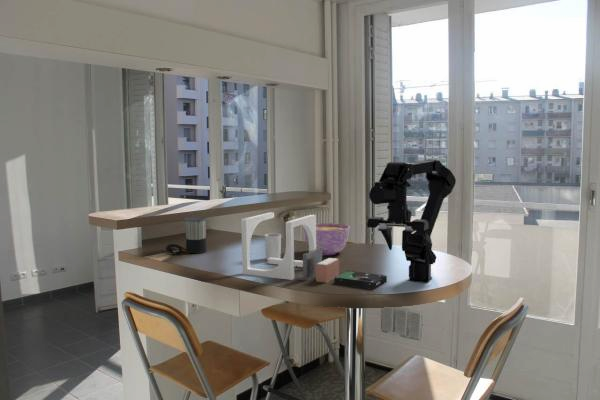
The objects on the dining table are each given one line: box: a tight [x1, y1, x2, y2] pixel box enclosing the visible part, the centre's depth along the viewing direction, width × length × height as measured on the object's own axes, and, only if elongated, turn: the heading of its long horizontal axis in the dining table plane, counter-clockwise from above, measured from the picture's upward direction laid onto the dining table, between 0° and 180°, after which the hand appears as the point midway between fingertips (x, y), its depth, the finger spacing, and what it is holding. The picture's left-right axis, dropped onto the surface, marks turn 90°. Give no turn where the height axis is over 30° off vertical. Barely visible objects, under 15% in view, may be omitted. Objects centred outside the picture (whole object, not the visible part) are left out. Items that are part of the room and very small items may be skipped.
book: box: [315, 257, 340, 284], centre depth 175 cm, size 4×10×6 cm, turn 152°
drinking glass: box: [264, 233, 282, 261], centre depth 206 cm, size 7×7×10 cm
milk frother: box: [165, 216, 208, 255], centre depth 221 cm, size 14×16×15 cm
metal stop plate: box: [297, 248, 323, 282], centre depth 178 cm, size 4×12×9 cm, turn 152°
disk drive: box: [333, 270, 388, 290], centre depth 170 cm, size 10×3×15 cm
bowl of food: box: [302, 222, 351, 256], centre depth 216 cm, size 20×20×12 cm
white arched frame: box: [240, 211, 317, 281], centre depth 187 cm, size 20×20×20 cm
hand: (396, 250), depth 163 cm, fingers open, 4 cm apart
